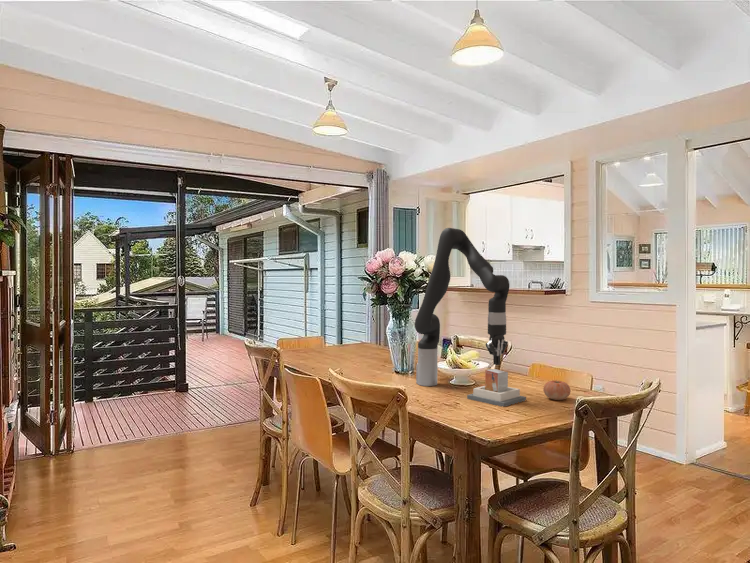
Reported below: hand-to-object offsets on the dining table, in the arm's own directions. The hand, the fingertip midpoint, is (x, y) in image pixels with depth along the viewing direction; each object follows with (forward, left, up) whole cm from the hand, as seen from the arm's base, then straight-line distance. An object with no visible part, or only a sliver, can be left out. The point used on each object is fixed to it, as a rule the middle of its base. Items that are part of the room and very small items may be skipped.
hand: (496, 364), depth 217 cm
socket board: (0, 0, -15) cm, 15 cm away
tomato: (+16, +20, -15) cm, 30 cm away
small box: (0, 0, -13) cm, 13 cm away
